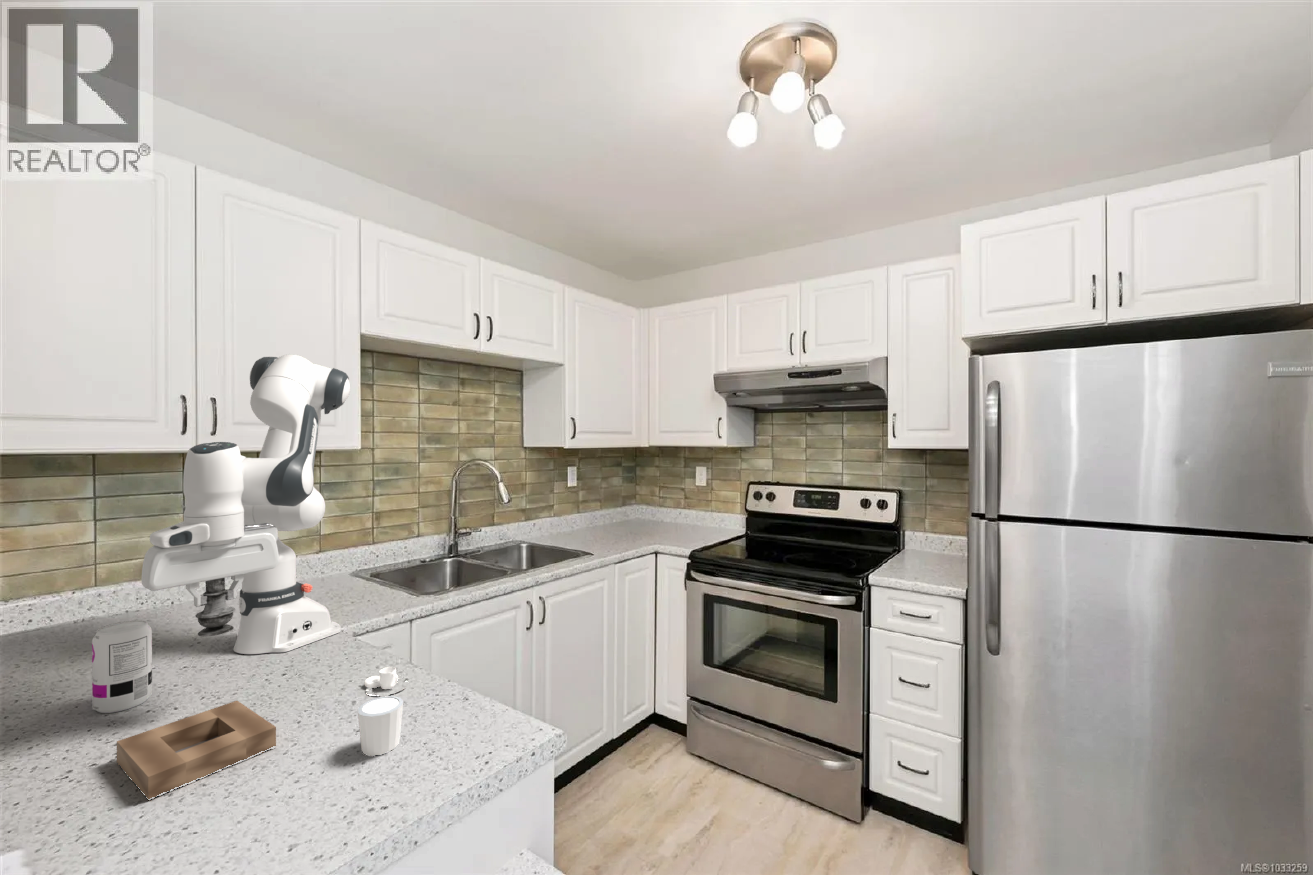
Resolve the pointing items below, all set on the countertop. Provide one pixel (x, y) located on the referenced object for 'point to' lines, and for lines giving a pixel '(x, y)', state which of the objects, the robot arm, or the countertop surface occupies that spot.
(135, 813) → the countertop surface
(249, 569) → the robot arm
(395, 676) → the teacup and saucer
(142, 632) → the supplement can
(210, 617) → the grey tall rounded piece
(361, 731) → the white cylinder
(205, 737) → the holder
